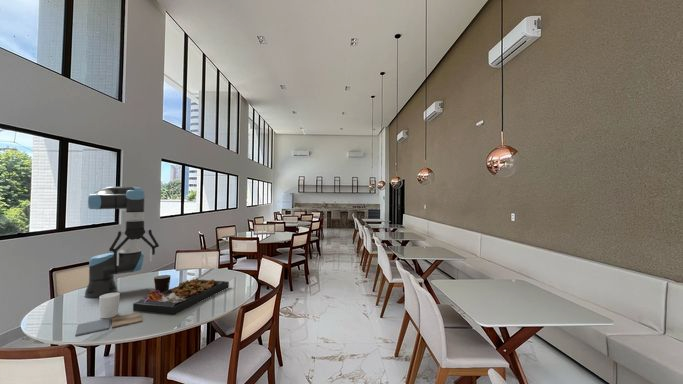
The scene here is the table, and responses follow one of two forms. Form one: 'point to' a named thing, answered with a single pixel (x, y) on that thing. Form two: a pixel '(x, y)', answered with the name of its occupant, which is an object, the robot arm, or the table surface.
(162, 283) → the coffee mug
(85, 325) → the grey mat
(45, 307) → the table surface
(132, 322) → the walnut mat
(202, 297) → the food platter
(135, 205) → the robot arm
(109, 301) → the white cup
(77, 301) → the table surface
